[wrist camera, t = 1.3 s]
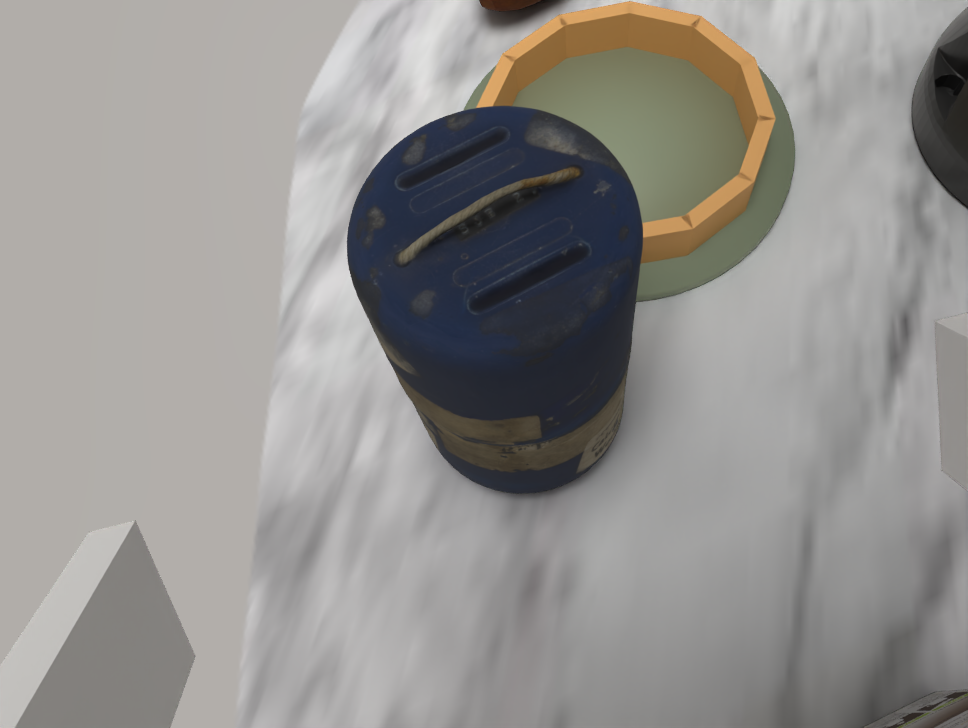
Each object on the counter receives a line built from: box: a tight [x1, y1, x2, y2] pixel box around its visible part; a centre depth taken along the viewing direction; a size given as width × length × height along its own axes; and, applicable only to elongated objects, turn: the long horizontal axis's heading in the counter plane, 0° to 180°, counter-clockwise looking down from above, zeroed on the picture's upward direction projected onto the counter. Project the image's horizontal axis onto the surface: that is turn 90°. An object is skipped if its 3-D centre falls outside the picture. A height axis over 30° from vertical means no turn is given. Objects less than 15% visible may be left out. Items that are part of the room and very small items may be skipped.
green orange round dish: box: [464, 1, 795, 302], centre depth 45 cm, size 18×18×3 cm
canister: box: [347, 106, 643, 493], centre depth 33 cm, size 10×10×18 cm
